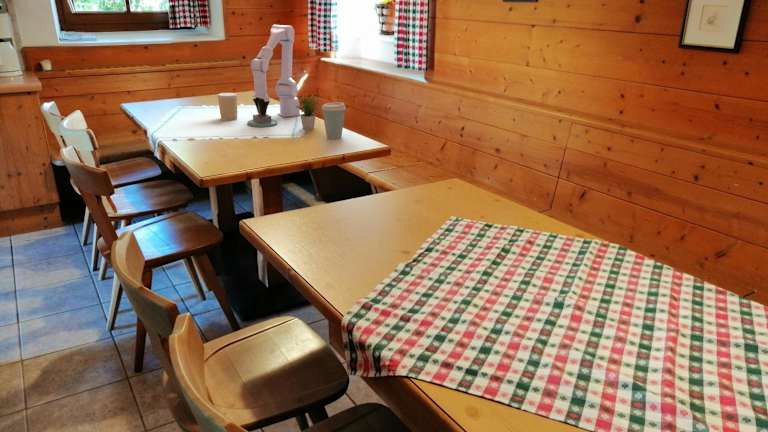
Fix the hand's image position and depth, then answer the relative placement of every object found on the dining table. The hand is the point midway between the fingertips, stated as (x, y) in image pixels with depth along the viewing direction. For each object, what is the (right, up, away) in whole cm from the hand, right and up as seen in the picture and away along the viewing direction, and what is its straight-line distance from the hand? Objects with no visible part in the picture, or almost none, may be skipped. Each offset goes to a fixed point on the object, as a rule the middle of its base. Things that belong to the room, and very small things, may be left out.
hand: (261, 114), depth 268 cm
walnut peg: (0, -3, +1) cm, 3 cm away
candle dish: (0, -4, +2) cm, 5 cm away
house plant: (+23, -8, -5) cm, 25 cm away
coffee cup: (-18, -1, +10) cm, 21 cm away
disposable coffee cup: (+36, -14, -18) cm, 42 cm away
